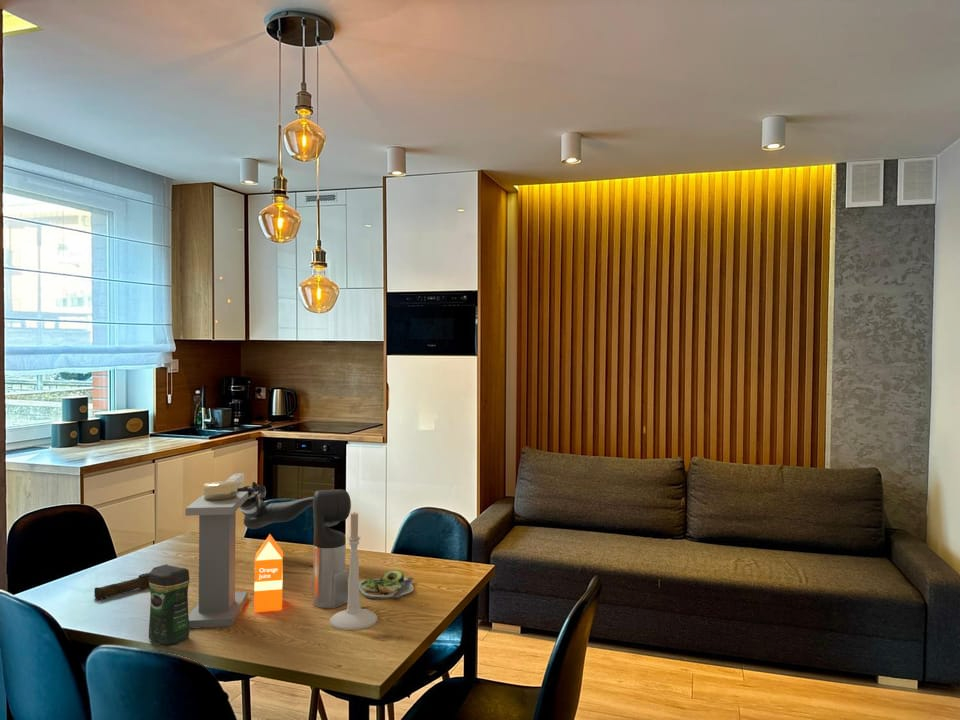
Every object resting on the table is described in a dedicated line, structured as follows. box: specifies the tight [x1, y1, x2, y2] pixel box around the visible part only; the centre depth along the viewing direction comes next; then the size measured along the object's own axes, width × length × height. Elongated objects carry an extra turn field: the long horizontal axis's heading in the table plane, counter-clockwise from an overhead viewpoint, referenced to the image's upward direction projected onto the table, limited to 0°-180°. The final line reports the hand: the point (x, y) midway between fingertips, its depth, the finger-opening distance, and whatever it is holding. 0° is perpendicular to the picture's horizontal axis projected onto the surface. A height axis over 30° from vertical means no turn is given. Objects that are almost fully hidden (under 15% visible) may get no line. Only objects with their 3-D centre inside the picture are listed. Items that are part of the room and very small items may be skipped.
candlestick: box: [329, 511, 378, 631], centre depth 188 cm, size 13×13×30 cm
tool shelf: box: [185, 492, 249, 629], centre depth 194 cm, size 22×12×32 cm, turn 8°
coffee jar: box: [148, 564, 191, 646], centre depth 175 cm, size 10×8×19 cm
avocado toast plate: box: [359, 569, 415, 600], centre depth 213 cm, size 19×18×5 cm
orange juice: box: [253, 533, 284, 613], centre depth 200 cm, size 8×9×20 cm
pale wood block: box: [203, 472, 245, 501], centre depth 207 cm, size 30×9×4 cm, turn 8°
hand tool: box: [93, 571, 151, 601], centre depth 211 cm, size 19×4×5 cm, turn 139°
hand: (239, 484), depth 225 cm, fingers open, 8 cm apart
